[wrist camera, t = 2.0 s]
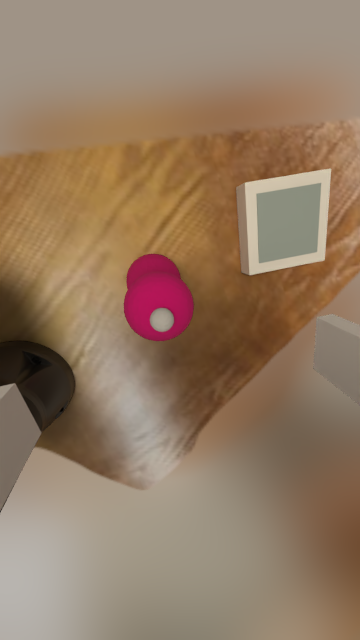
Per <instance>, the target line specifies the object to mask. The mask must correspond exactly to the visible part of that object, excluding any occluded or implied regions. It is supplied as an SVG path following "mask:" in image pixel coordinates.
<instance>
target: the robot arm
mask: <svg viewBox="0 0 360 640" xmlns="http://www.w3.org/2000/svg"><path fill="white" fill-rule="evenodd" d="M313 369H314V370H316V371H317V372H318V373H319V374H321V375H322V376H323V377H325V378H326V379H327V380H328V381H330V382H331V383H332V384H333V385H335V386H336V387H337V388H338V389H340V390H341V391H342V392H343V393H345V394H346V395H347V396H349V397H350V398H351V399H352V400H354V401H355V402H356V403H357V404H359V405H360V325H358V324H356V323H353V322H351V321H348V320H346V319H344V318H341V317H339V316H336V315H334V314H330V315H325V316H321V317H317V321H316V336H315V352H314V367H313ZM74 387H75V383H74V376H73V373H72V371H71V369H70V367H69V366H68V364H67V363H66V362H65V360H64V359H63V358H62V357H61V356H59V355H58V354H57V353H55V352H54V351H52V350H51V349H49V348H47V347H45V346H42V345H39V344H36V343H32V342H26V341H9V342H4V343H0V512H1V510H2V508H3V506H4V504H5V502H6V500H7V498H8V496H9V494H10V492H11V491H12V488H13V487H14V485H15V483H16V480H17V479H18V477H19V475H20V473H21V471H22V469H23V467H24V465H25V463H26V461H27V460H28V458H29V455H30V454H31V452H32V450H33V448H34V446H35V444H36V442H37V441H38V439H39V437H40V435H41V433H42V432H43V431H44V430H45V429H46V428H47V427H48V426H49V425H50V424H51V423H52V422H53V421H54V420H55V419H57V418H58V417H59V416H60V415H61V414H62V413H63V412H64V410H65V409H66V407H67V406H68V404H69V402H70V400H71V397H72V395H73V392H74Z"/></svg>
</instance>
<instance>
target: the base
mask: <svg viewBox="0 0 360 640" xmlns="http://www.w3.org/2000/svg"><path fill="white" fill-rule="evenodd" d="M330 178H331V169H325V170H319V171H313V172H307V173H301V174H295V175H289V176H283V177H277V178H271V179H265V180H259V181H253V182H247V183H244V184H242V185H240V186H238V187H236V195H237V210H238V226H239V242H240V257H241V272H242V273H245V274H248V275H253V274H258V273H263V272H268V271H273V270H278V269H283V268H288V267H293V266H298V265H303V264H308V263H313V262H318V261H323V260H325V247H326V233H327V219H328V206H329V192H330Z"/></svg>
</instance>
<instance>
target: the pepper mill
mask: <svg viewBox="0 0 360 640" xmlns="http://www.w3.org/2000/svg"><path fill="white" fill-rule="evenodd" d="M127 288H128V291H127V293H126V295H125V300H124V313H125V317H126V319H127V322H128V323H129V325H130V327H131V328H132V329H133V330H134V331H135V332H136V333H137V334H138V335H140V336H142V337H144V338H145V339H149V340H153V341H165V340H169V339H172V338H175V337H176V336H178V335H180V334H181V333H182V332H183V331H184V330H185V329H186V328H187V326H188V325H189V323H190V321H191V318H192V316H193V309H194V304H193V298H192V295H191V292H190V290H189V289H188V287H187V286H186V284H185V283H184V282H183V281H182V280H181V278H180V274H179V271H178V269H177V267H176V266H175V264H174V263H173V262H172V261H171V260H170V259H168V258H167V257H165V256H162V255H159V254H148V255H144V256H142V257H140V258H138V259H137V260H135V261H134V263H133V264H132V265H131V267H130V268H129V270H128V273H127Z"/></svg>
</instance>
